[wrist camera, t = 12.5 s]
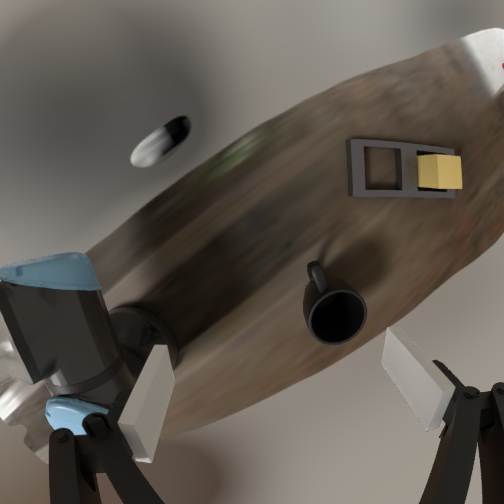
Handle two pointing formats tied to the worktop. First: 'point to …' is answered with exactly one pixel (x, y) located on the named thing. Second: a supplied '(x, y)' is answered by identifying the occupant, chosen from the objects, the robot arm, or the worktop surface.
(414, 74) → the worktop surface
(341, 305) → the mug
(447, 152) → the frame with square openings
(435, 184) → the yellow block
